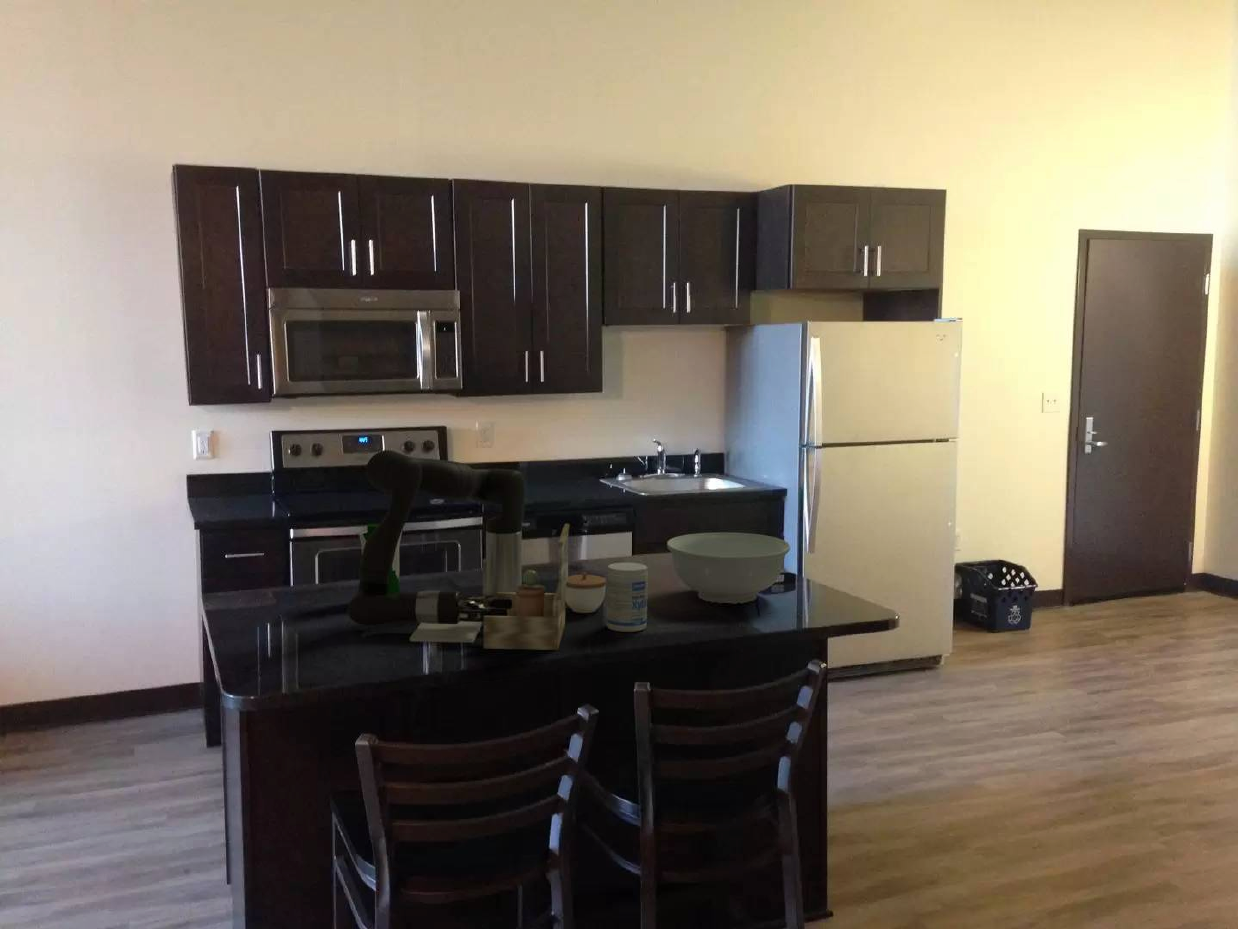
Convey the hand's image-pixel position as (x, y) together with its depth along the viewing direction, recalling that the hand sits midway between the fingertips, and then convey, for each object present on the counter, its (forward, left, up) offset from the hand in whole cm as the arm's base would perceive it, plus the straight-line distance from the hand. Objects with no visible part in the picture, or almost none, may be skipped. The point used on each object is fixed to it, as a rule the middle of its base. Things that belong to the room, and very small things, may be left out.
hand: (509, 608), depth 241 cm
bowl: (+26, +60, -6) cm, 66 cm away
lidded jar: (+2, +28, -6) cm, 29 cm away
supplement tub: (+19, +20, -6) cm, 28 cm away
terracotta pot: (+4, +2, -6) cm, 8 cm away
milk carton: (-45, +6, -6) cm, 46 cm away
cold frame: (+3, +2, -6) cm, 7 cm away
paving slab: (-12, -7, -6) cm, 16 cm away
